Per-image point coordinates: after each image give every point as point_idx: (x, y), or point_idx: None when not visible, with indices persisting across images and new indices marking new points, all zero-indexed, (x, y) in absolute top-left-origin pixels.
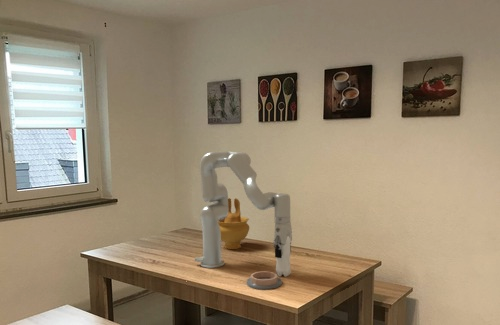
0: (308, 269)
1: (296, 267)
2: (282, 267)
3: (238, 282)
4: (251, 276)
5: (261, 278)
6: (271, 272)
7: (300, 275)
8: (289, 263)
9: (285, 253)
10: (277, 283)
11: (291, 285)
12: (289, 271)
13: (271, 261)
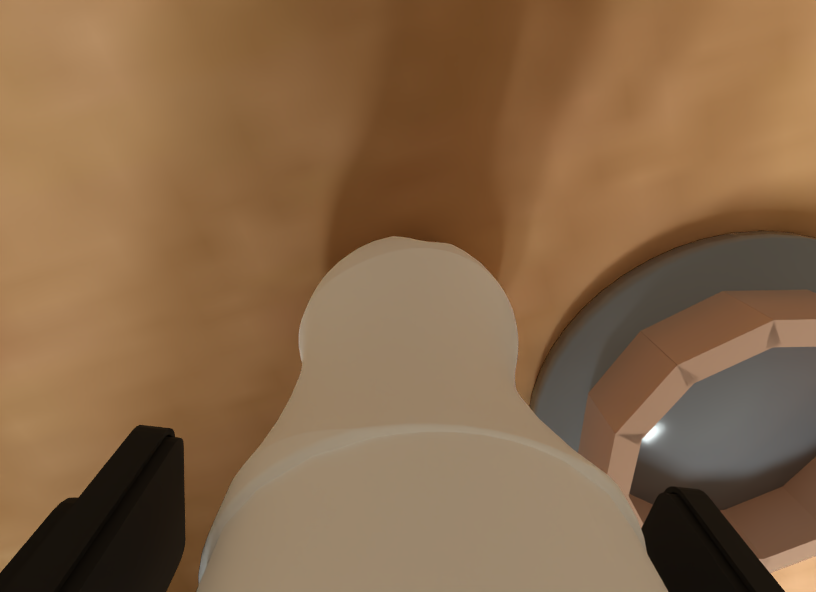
0: (9, 43)
1: (36, 246)
2: (509, 356)
3: None
4: (802, 557)
5: (648, 466)
6: (638, 429)
7: (336, 92)
8: (427, 291)
9: (624, 497)
10: (801, 271)
11: (761, 100)
12: (443, 243)
13: (16, 552)
